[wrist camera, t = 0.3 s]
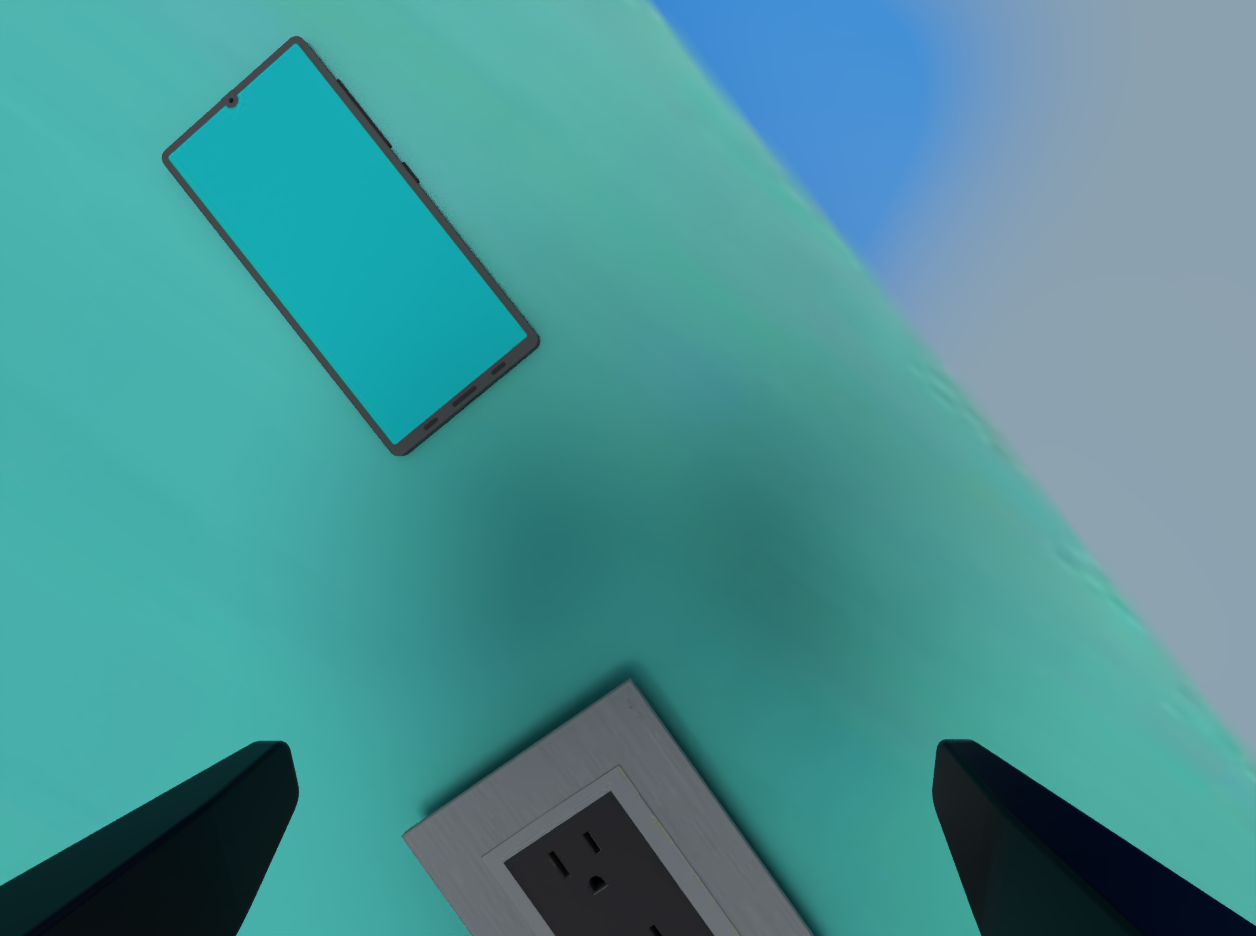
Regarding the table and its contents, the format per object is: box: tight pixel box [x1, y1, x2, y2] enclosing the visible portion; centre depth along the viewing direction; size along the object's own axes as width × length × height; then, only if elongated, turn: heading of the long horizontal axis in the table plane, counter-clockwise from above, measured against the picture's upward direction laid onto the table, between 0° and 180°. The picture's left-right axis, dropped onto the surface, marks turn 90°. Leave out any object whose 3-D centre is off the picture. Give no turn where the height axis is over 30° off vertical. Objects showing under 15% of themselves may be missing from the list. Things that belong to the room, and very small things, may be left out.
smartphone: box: [162, 36, 540, 456], centre depth 24 cm, size 7×1×15 cm
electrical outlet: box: [402, 678, 814, 936], centre depth 24 cm, size 13×10×2 cm
